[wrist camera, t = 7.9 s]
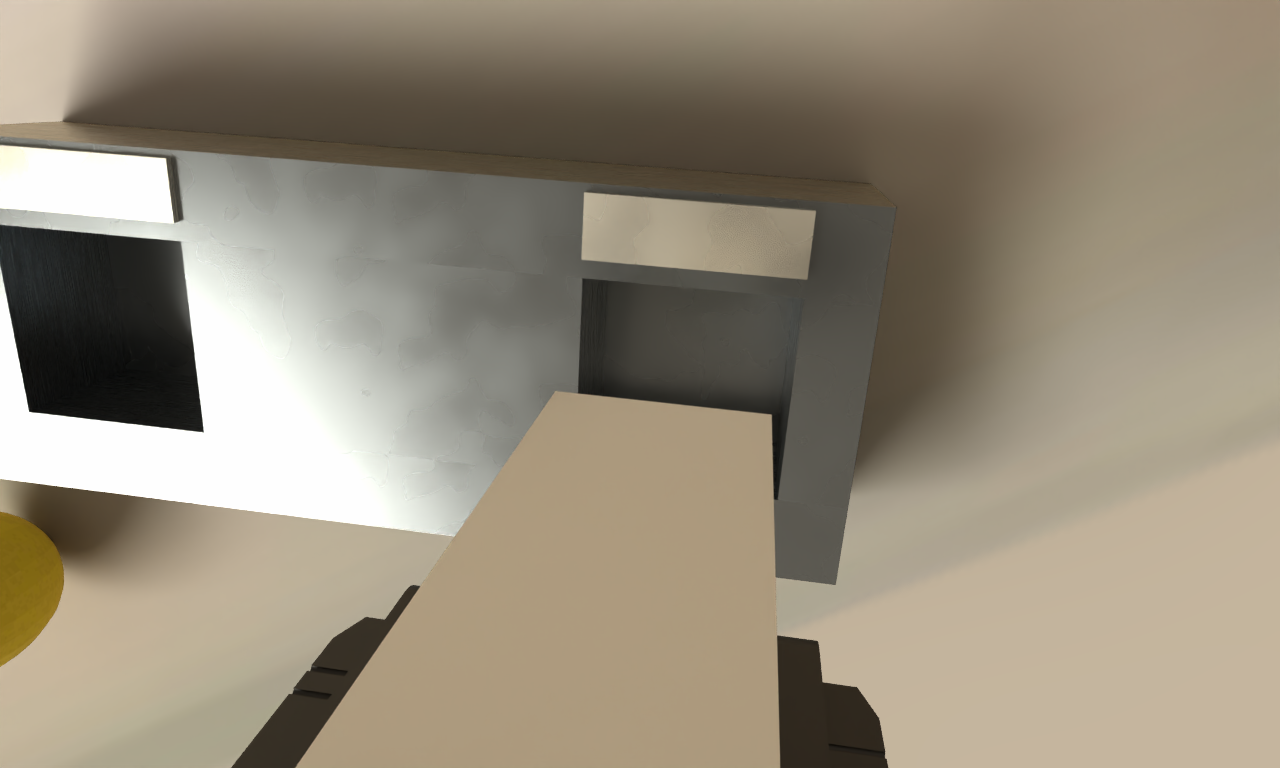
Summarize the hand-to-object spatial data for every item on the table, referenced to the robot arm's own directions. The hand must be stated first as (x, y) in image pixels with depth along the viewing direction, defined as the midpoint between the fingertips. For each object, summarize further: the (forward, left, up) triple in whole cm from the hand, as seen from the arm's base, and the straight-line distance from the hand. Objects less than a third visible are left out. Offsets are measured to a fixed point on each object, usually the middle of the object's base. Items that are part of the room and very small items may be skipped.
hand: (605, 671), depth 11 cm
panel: (0, -8, -16) cm, 18 cm away
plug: (0, 0, -5) cm, 5 cm away
